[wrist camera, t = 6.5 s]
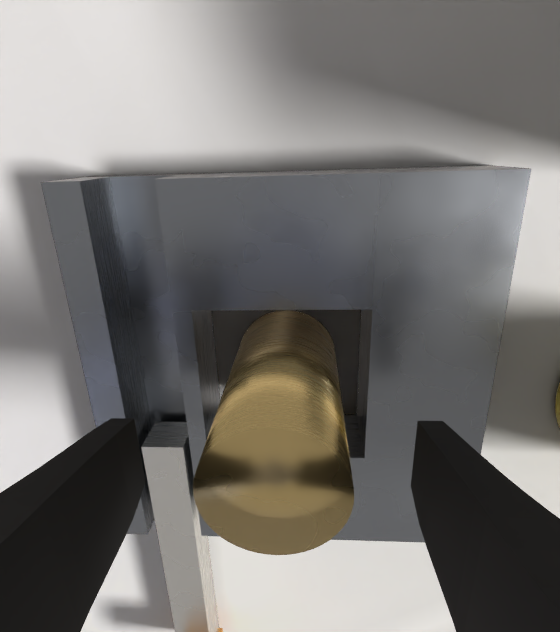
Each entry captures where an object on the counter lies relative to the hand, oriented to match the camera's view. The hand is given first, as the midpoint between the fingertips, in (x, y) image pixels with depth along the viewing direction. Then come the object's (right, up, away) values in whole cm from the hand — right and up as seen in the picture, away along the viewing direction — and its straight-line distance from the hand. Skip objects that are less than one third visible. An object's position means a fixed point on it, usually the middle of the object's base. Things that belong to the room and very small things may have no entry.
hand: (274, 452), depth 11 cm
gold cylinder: (0, +2, +5) cm, 6 cm away
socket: (0, +2, +5) cm, 6 cm away
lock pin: (-4, -7, +8) cm, 11 cm away
